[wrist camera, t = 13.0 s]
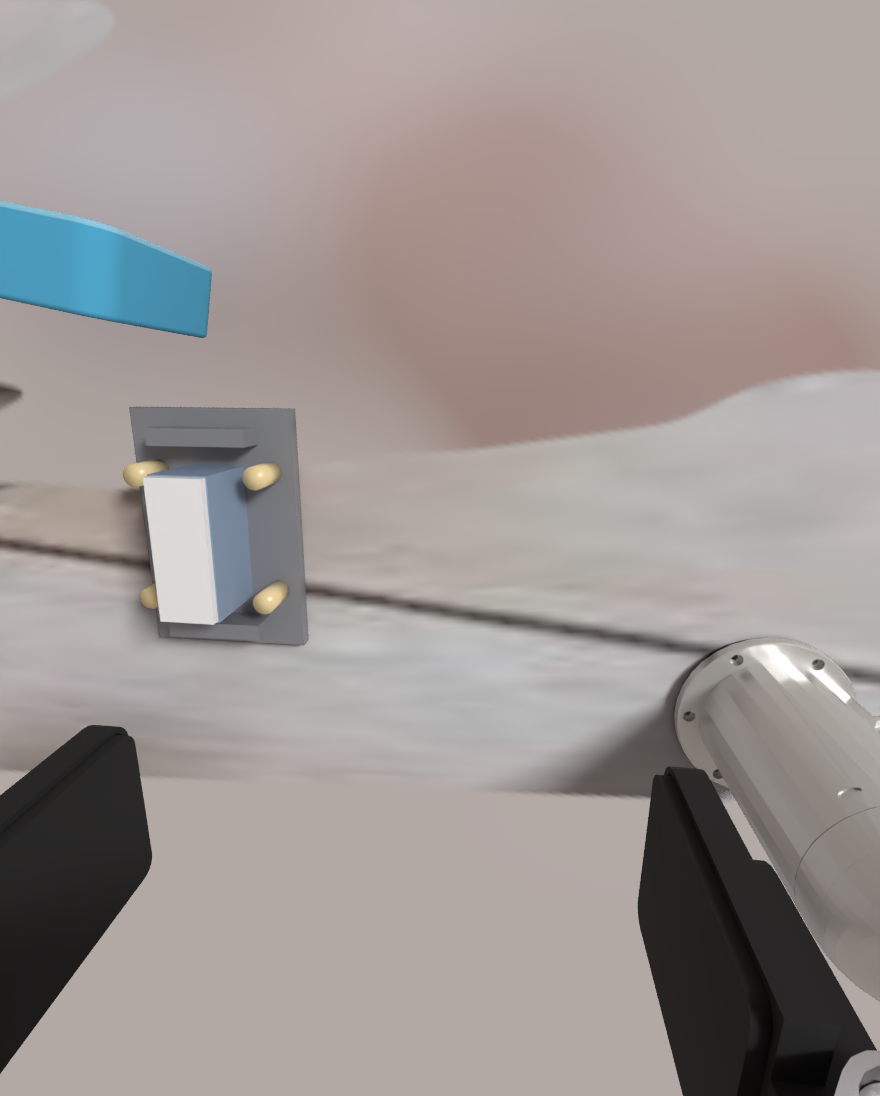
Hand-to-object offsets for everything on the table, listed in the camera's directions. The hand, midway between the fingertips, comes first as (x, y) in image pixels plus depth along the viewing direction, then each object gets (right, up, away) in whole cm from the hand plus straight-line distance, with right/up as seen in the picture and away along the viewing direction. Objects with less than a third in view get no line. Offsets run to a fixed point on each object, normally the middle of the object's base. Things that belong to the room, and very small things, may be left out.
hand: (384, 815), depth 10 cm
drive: (-15, +6, +33) cm, 37 cm away
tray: (-15, +6, +34) cm, 38 cm away
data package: (-20, +23, +30) cm, 43 cm away
